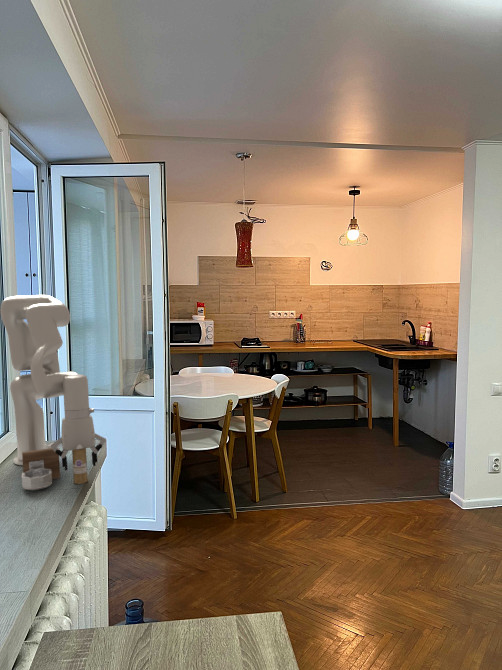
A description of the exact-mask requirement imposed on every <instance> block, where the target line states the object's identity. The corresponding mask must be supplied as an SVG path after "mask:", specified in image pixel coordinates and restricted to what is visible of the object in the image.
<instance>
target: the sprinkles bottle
mask: <svg viewBox="0 0 502 670" xmlns="http://www.w3.org/2000/svg"><path fill="white" fill-rule="evenodd" d="M71 452H72V454H71V455H72V473H73V475H72V476H73V484H78V485H81V484H82V485H83V484H86V483H87V482H88V480H89V479H88V460H87V458H88V457H87V448H85V449H83V447H82V446H81V445H78V446H77V448H76V450H71Z"/></svg>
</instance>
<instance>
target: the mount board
mask: <svg viewBox="0 0 502 670" xmlns="http://www.w3.org/2000/svg"><path fill="white" fill-rule="evenodd" d="M57 448H58V449H59V450H60V448H59V446H57ZM22 458H23V465H22V471H23V472H22V473H24V472H26V471H29V461H36V460H44V468H47V469H51V472H52V480H55V479H56V480H57V479H61V470H60V469H61V467H60V456H59V455H58V454H56V452H55V451H54V450H53V449H52V448H49V449H41V450H33V451H26V452H22Z"/></svg>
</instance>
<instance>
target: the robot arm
mask: <svg viewBox="0 0 502 670" xmlns="http://www.w3.org/2000/svg"><path fill="white" fill-rule="evenodd" d="M0 318H1V321H2V323H3V326H4V328H5V330H6V333H7V337H8V345H9V346H8V347H9V352H10V353H9V355H10V359H11V364H12V367H13V369H14V370H15V371H17V372H22V371H23V372H24V371H25V372H28V371H30V373H28V374H27V373H26V374H21V375H18V376H16V377H15V378H13V379H12V380H11V381H10V385H9V386H10V388H9V389H10V394H11V398H12V401H13V408H14V417H15V430H16V431H15V433H16V447H17V456H15V457H14V458H13V464H15V465H18V466H23V458H22V452H26V451H33V450H41V449H49V448H52V449H53V450H54V451H55V452H56V454H58V455H59V458H61V466H62V468H64V471H68V458H67V454H68V453H69V451H72V450H76V448H77V446H78V445H81V446H82V447H83V449H85V448H86V449H90V450H91V463H92V466H93V467H96V463H98V453H99V451H100V450H101V449H102V448H103V445H104V444H105V443H106V439H107V438H105V437H103V436H101V435H99V434H97V433H95V425H94V420H93V416H92V414H93V413H95V408H92V407H90V398H89V396H90V395H89V382H88V377H87V376H86V375H85V374H80V373H77V372H75V371H70V370H69V371H63V372H61V370H60V361H59V355H58V350H59V349H60V348H62V345H63V344H64V343H63V339H62V335H61V334H60V331H59V328H61V327H66V326H68V325H69V324H70V321H71V313H70V311H69V308H68V307H67V306H66V305H65V303H63V302H62V301H61V300H58V299H57V298H55V297H53V296H51V295H47V294H36V295H34V294H33V295H31V294H29V295H28V294H27V295H25V294H24V295H14V296H9V297H6V298H5V299H4V300H2V301H1V303H0ZM25 320H26V321H25ZM62 396H63V409H64V410H63V411H64V417H63V418H62V420H61V432H60V434H61V436H60V438H58V439H57V440H56V441H54V442H51V443H49V444H48V443H46V433H45V432H46V430H45V416H44V410H43V408H42V406H41V405H40V404H38V402H37V400H40V399H50V398H56V397H62ZM96 440H98V441H99V442H98V444H96ZM59 445H62V446H61V447H62V450H61V449H60V448H59ZM57 447H58V448H59V449H58V448H57Z"/></svg>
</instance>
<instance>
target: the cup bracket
mask: <svg viewBox="0 0 502 670" xmlns="http://www.w3.org/2000/svg"><path fill="white" fill-rule="evenodd" d="M52 484H53V479H52V472H51V469H47V468H44V460H36V461H29V471H26V472H24V473H23V472H22V473H21V487H22V489H23V490H26V491H37V490H38V491H40V490H43V489H47V488H48V487H50V486H51V485H52Z"/></svg>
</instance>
